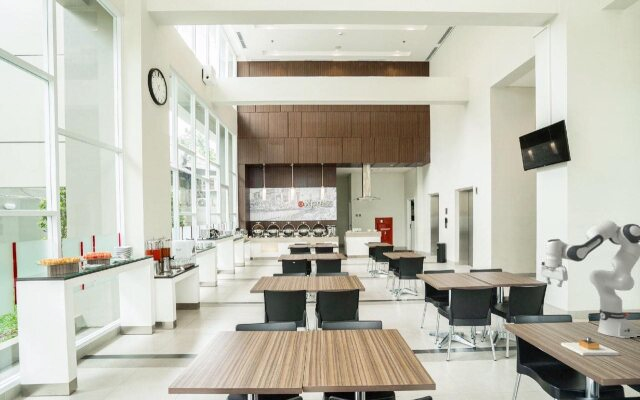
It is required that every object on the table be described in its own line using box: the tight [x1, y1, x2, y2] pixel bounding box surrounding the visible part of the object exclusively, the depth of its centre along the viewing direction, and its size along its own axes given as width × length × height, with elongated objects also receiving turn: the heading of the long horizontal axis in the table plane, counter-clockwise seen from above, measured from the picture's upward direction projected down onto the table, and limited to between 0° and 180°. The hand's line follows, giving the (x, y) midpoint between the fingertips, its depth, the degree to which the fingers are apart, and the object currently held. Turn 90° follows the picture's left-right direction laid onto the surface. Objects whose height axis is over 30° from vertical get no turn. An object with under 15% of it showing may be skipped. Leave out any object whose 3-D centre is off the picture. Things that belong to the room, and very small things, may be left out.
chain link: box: [578, 339, 600, 349], centre depth 208 cm, size 6×6×3 cm
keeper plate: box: [560, 337, 620, 357], centre depth 208 cm, size 20×16×6 cm
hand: (554, 285), depth 249 cm, fingers open, 8 cm apart
